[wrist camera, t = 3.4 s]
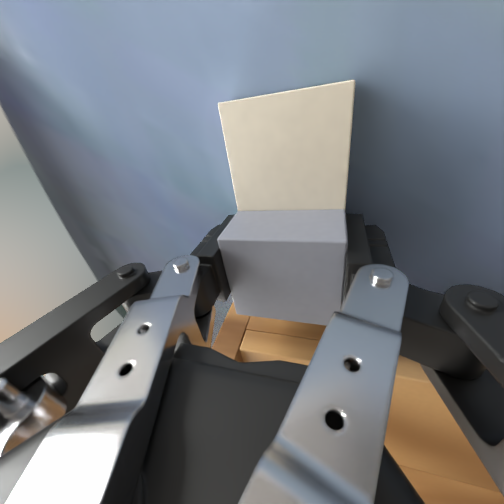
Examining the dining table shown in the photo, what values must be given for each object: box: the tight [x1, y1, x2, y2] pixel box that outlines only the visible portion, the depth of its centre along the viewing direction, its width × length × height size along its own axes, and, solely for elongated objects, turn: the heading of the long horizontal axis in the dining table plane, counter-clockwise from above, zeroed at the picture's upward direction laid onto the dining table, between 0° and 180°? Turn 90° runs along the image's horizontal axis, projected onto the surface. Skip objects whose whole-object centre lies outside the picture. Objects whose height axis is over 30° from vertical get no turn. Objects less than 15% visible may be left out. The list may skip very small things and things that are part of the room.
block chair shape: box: [217, 80, 355, 326], centre depth 9 cm, size 8×4×4 cm, turn 9°
